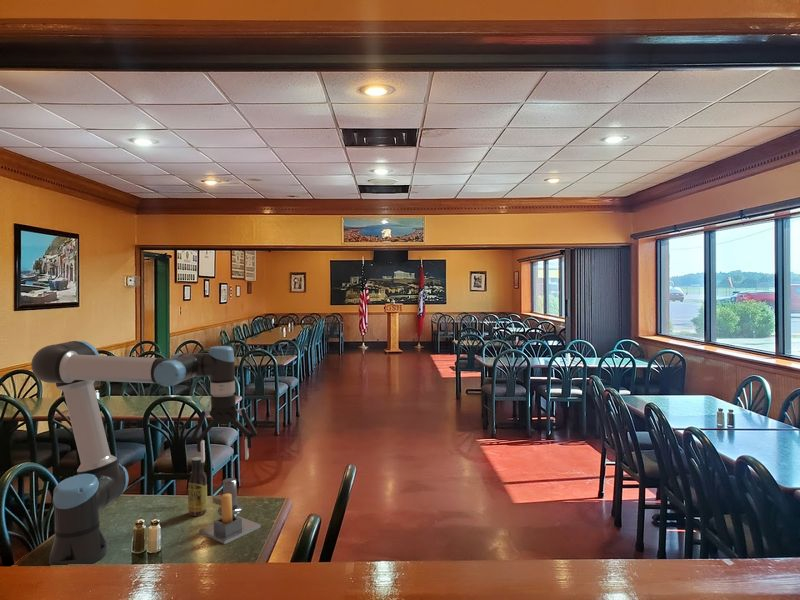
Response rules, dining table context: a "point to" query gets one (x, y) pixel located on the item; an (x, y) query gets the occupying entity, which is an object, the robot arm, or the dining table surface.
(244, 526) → the socket block fixture
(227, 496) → the orange cylinder
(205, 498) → the sauce bottle
